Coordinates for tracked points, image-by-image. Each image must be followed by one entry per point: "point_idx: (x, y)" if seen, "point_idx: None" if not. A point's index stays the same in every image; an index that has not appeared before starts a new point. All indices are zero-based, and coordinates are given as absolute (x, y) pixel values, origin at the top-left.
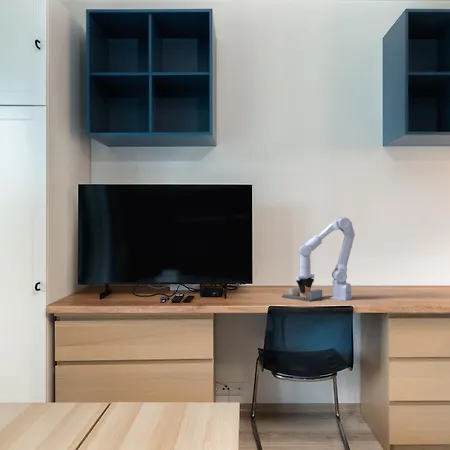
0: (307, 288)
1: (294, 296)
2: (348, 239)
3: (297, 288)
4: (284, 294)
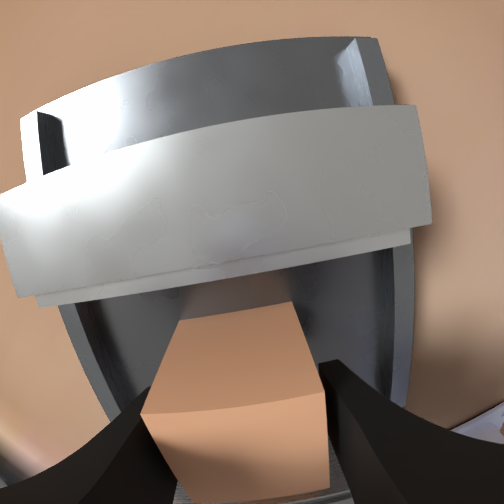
0: (237, 495)
1: (71, 325)
2: None
3: (184, 268)
4: (23, 148)
